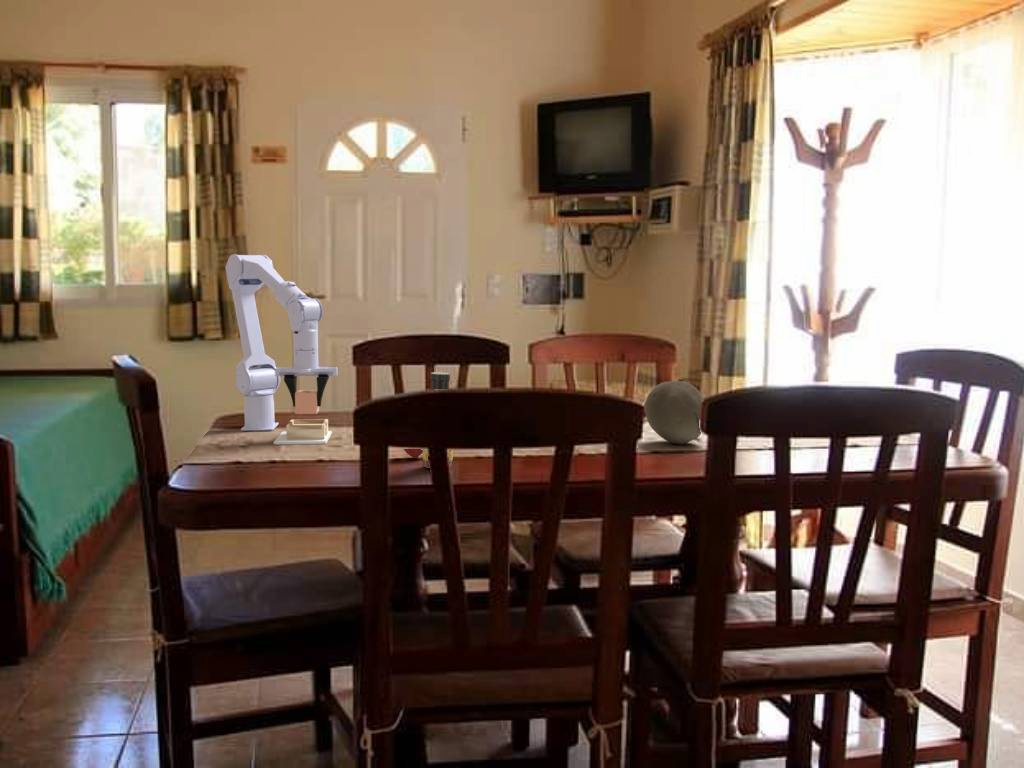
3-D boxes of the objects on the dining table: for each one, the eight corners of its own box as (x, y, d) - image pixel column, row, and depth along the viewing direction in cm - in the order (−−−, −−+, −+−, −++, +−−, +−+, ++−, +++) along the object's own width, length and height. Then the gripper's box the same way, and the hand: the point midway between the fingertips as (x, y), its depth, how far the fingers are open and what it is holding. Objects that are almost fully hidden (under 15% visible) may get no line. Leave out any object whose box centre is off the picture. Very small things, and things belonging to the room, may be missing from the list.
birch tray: (291, 433, 235) (291, 419, 235) (328, 432, 236) (328, 419, 235) (286, 439, 226) (286, 425, 226) (324, 439, 227) (324, 425, 227)
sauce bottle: (423, 471, 196) (422, 374, 193) (421, 465, 202) (421, 371, 199) (455, 470, 197) (455, 374, 194) (452, 464, 203) (452, 370, 200)
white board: (282, 433, 237) (282, 431, 237) (331, 433, 238) (331, 430, 238) (273, 444, 224) (273, 441, 223) (325, 443, 225) (325, 441, 224)
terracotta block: (298, 410, 232) (297, 389, 232) (319, 410, 233) (318, 389, 232) (295, 413, 227) (294, 392, 227) (316, 413, 228) (316, 392, 227)
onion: (426, 461, 206) (426, 424, 205) (399, 460, 206) (399, 424, 205) (429, 455, 211) (429, 420, 210) (403, 455, 212) (403, 419, 211)
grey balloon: (699, 438, 234) (701, 377, 232) (710, 449, 220) (712, 384, 218) (641, 438, 234) (642, 377, 232) (648, 449, 220) (649, 384, 218)
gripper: (272, 351, 224) (273, 408, 225) (335, 350, 225) (336, 408, 227) (277, 348, 231) (278, 404, 232) (337, 348, 232) (339, 403, 234)
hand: (307, 406), depth 230 cm, fingers closed on terracotta block, 5 cm apart
